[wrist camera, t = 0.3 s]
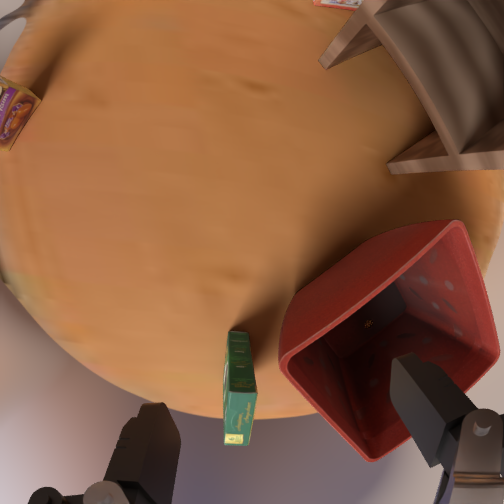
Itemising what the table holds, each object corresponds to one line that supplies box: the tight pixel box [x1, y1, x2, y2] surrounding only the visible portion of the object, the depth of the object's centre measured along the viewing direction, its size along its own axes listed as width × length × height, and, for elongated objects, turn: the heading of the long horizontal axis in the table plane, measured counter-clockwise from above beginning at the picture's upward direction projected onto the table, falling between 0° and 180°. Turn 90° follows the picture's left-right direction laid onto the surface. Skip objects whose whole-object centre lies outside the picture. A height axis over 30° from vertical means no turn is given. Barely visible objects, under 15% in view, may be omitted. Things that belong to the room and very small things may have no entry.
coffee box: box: [223, 331, 258, 446], centre depth 33 cm, size 8×3×13 cm, turn 173°
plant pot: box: [278, 219, 500, 462], centre depth 31 cm, size 19×19×17 cm
